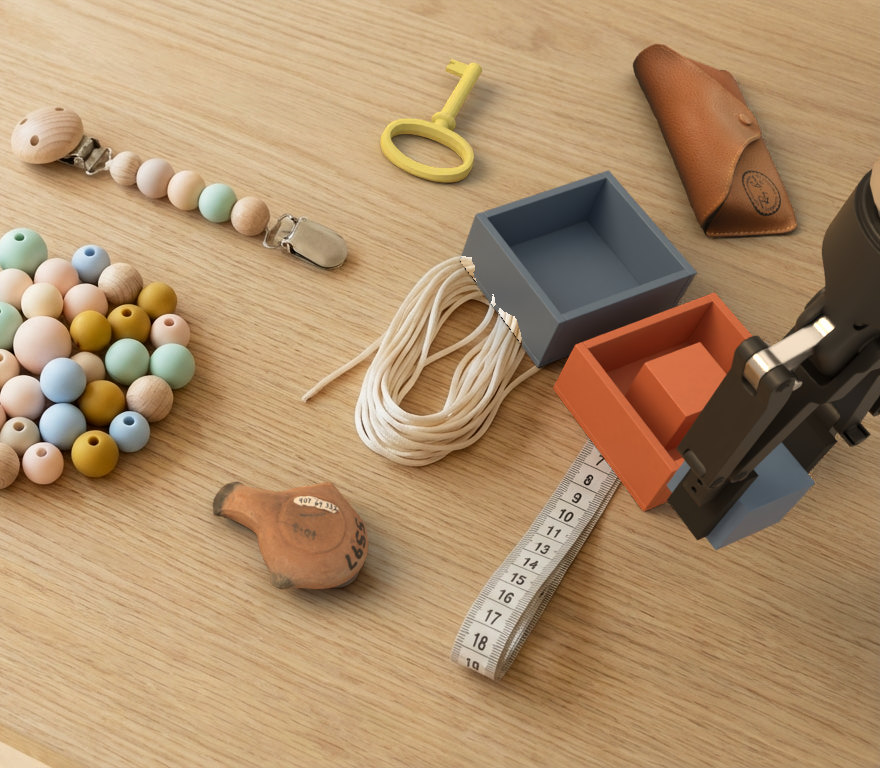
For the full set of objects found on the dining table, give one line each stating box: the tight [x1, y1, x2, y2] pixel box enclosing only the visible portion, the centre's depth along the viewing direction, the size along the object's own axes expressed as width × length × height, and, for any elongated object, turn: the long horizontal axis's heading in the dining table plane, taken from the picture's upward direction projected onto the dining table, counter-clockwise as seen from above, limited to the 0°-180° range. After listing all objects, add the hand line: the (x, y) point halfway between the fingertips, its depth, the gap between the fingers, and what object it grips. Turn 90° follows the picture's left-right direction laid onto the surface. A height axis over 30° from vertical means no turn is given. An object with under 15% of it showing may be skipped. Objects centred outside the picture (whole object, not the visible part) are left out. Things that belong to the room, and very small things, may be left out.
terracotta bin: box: [552, 292, 753, 512], centre depth 79 cm, size 11×10×5 cm
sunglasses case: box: [632, 43, 798, 239], centre depth 94 cm, size 18×7×7 cm
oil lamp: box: [212, 481, 369, 590], centre depth 73 cm, size 9×4×8 cm
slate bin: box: [460, 170, 698, 368], centre depth 85 cm, size 11×10×5 cm
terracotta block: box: [625, 342, 726, 451], centre depth 78 cm, size 4×4×4 cm
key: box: [379, 58, 483, 184], centre depth 95 cm, size 7×12×2 cm, turn 169°
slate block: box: [667, 442, 816, 551], centre depth 66 cm, size 4×4×4 cm
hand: (724, 500), depth 67 cm, fingers closed on slate block, 4 cm apart
